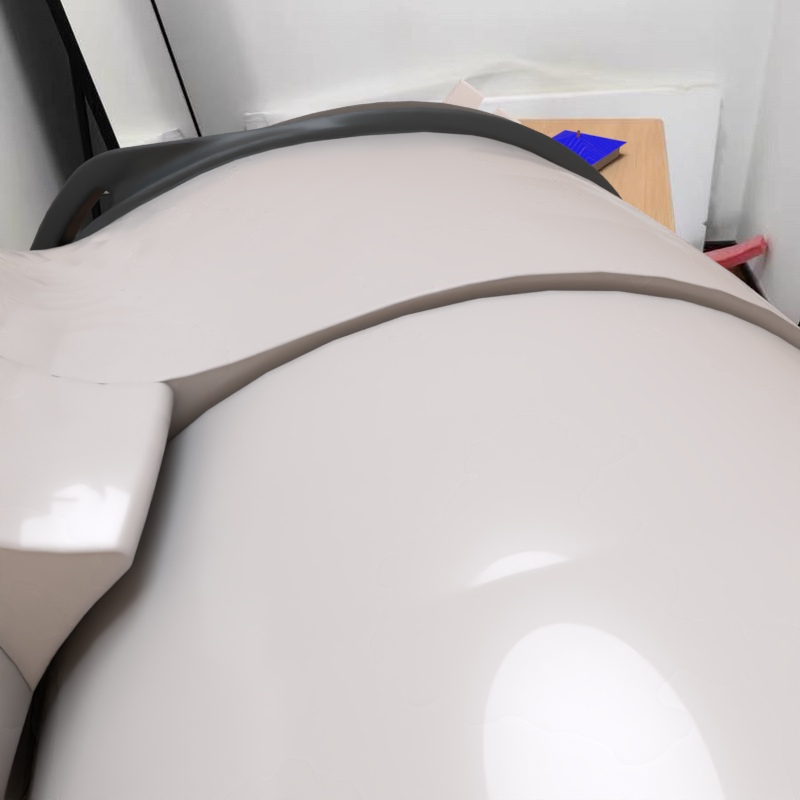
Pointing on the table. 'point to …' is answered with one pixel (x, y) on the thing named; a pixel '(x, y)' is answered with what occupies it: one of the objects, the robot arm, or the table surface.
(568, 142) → the roof
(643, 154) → the table surface
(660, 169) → the table surface
